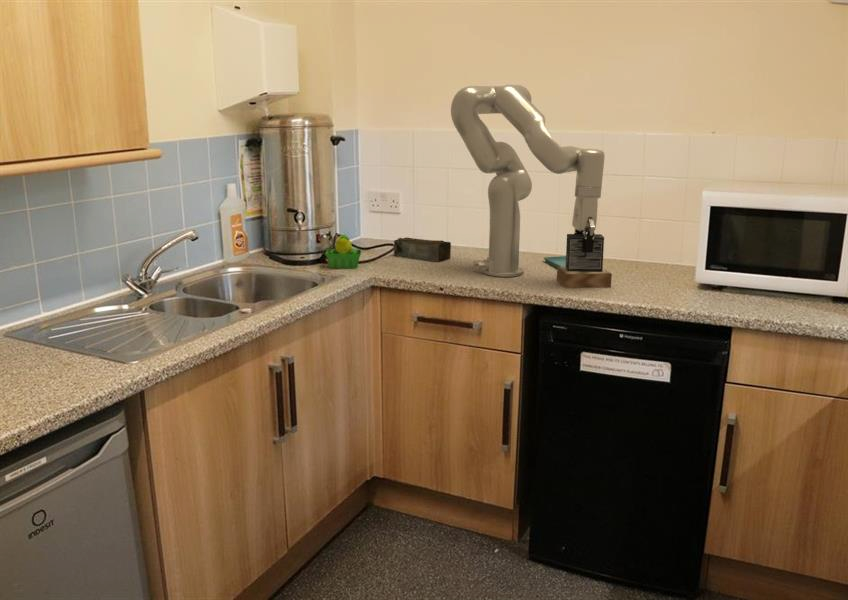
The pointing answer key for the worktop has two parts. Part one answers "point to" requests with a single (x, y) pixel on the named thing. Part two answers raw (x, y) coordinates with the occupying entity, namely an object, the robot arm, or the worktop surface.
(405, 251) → the dark rectangular box
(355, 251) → the fruit basket
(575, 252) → the small box
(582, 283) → the brown rectangular tray
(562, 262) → the shallow long dish
